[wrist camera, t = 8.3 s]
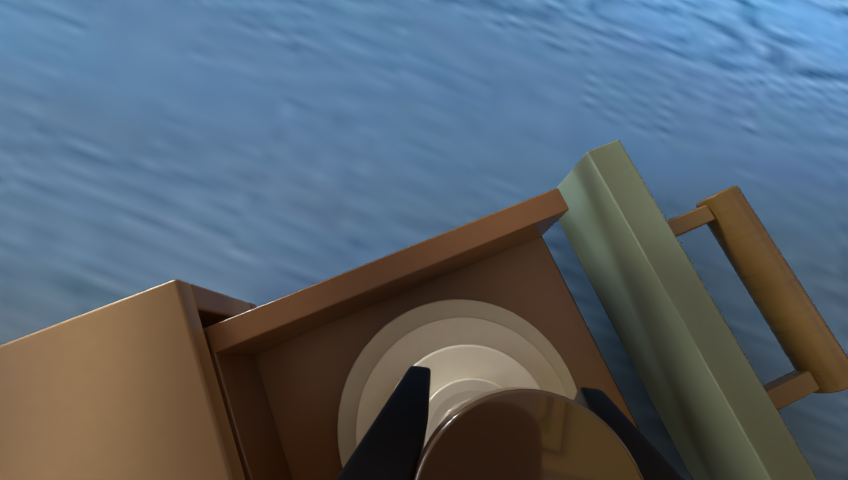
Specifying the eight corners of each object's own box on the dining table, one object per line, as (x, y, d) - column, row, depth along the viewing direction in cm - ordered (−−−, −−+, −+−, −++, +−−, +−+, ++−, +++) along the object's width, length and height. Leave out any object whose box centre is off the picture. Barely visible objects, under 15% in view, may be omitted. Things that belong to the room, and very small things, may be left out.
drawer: (656, 155, 19) (726, 96, 14) (831, 446, 16) (981, 477, 12) (232, 324, 16) (170, 313, 12) (345, 700, 13) (314, 854, 9)
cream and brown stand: (578, 311, 16) (800, 250, 7) (578, 570, 14) (902, 988, 5) (357, 290, 16) (280, 200, 7) (322, 544, 14) (143, 912, 5)
